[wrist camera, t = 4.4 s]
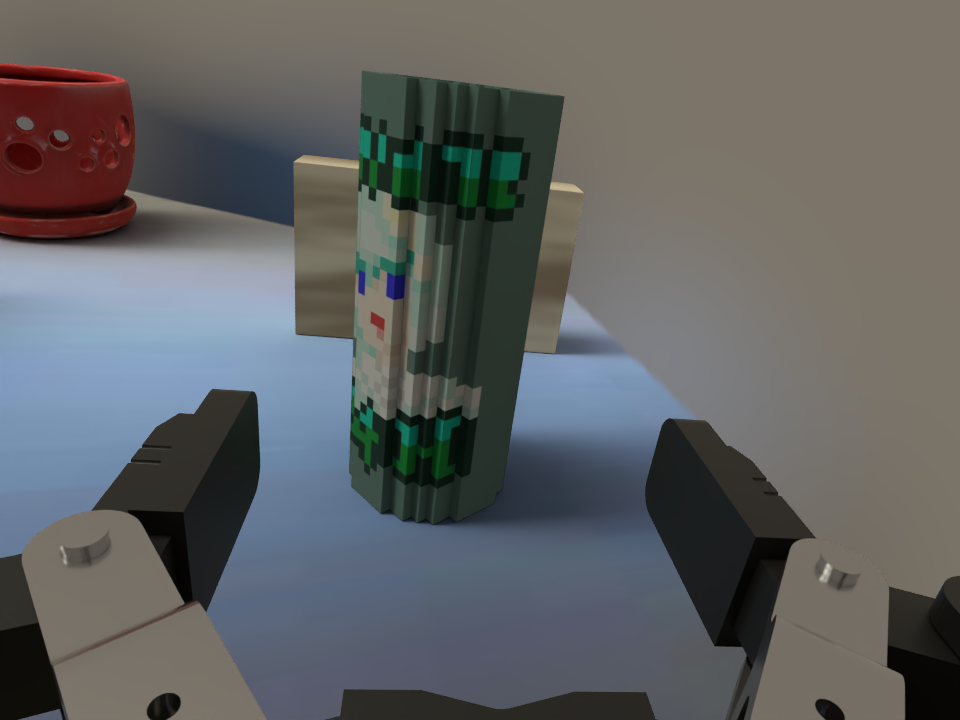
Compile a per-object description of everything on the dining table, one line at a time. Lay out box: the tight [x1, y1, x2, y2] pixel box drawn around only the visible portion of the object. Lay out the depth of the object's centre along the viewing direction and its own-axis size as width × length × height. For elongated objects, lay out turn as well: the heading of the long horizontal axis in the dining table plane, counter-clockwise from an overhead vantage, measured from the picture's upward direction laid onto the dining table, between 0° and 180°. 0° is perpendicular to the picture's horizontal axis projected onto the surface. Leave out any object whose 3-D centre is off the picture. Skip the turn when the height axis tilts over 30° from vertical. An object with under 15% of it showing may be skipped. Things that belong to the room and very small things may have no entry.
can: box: [349, 71, 564, 524], centre depth 23 cm, size 6×6×15 cm
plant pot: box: [0, 64, 137, 239], centre depth 49 cm, size 13×13×12 cm
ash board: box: [294, 155, 584, 354], centre depth 37 cm, size 3×16×10 cm, turn 94°
